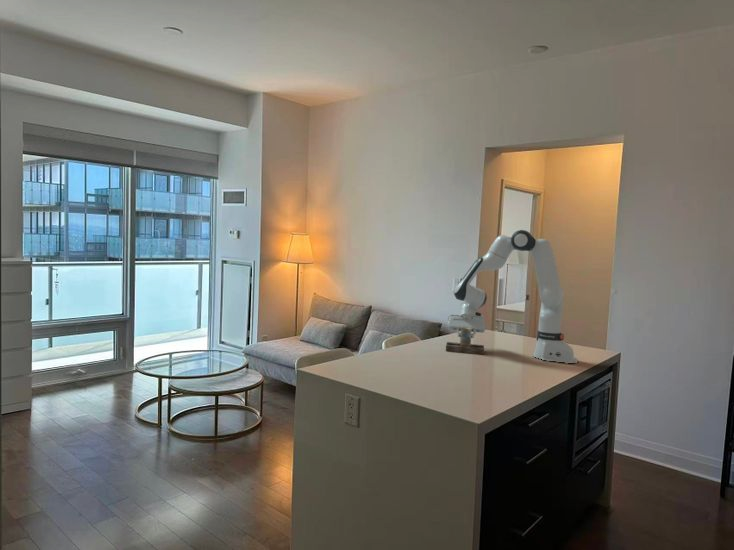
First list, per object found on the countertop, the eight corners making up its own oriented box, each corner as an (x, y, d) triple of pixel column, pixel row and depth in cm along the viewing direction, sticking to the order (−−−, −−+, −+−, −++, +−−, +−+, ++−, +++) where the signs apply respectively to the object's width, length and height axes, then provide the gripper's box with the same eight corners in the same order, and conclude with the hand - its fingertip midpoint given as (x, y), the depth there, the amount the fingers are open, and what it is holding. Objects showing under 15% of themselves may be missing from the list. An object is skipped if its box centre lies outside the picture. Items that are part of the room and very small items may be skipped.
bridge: (483, 350, 294) (483, 345, 293) (483, 354, 284) (484, 349, 283) (446, 347, 297) (446, 341, 297) (445, 351, 287) (446, 345, 287)
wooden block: (470, 346, 291) (471, 328, 290) (470, 347, 289) (471, 329, 288) (460, 345, 292) (461, 327, 291) (459, 346, 290) (461, 328, 289)
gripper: (448, 311, 298) (446, 331, 289) (486, 314, 294) (485, 335, 285) (448, 318, 302) (446, 338, 293) (485, 321, 298) (484, 341, 290)
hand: (465, 336), depth 289 cm, fingers closed on wooden block, 5 cm apart
